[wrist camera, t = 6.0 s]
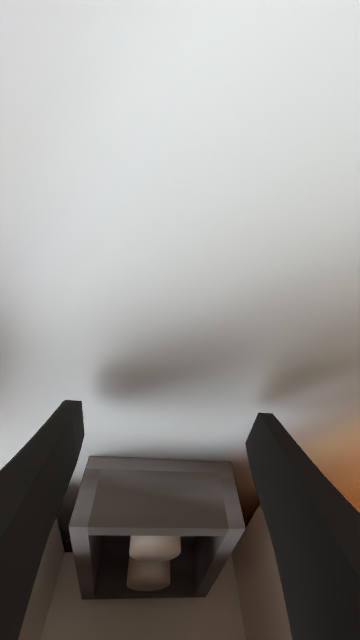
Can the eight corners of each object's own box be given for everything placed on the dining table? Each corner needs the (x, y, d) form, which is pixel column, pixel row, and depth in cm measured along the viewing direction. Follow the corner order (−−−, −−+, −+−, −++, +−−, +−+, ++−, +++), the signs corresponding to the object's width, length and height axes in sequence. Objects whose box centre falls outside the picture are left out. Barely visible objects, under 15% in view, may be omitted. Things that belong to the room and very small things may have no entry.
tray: (199, 531, 19) (205, 597, 16) (96, 530, 18) (81, 599, 15) (229, 455, 14) (245, 528, 11) (90, 449, 14) (68, 526, 11)
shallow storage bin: (241, 558, 21) (276, 741, 14) (50, 558, 20) (-15, 764, 13) (284, 492, 16) (373, 732, 9) (28, 484, 14) (-106, 768, 7)
